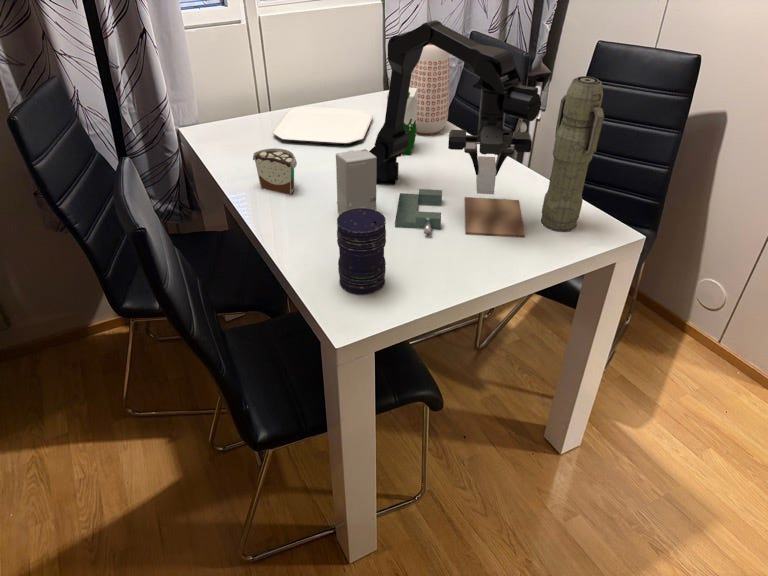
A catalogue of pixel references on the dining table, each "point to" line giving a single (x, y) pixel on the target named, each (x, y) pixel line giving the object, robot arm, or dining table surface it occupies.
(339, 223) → the storage jar
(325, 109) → the plate
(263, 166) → the food container
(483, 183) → the steel bar
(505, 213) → the walnut mat
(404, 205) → the green base
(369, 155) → the skincare box
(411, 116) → the milk carton
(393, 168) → the robot arm
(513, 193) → the dining table surface
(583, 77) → the thermos
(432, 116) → the planter
